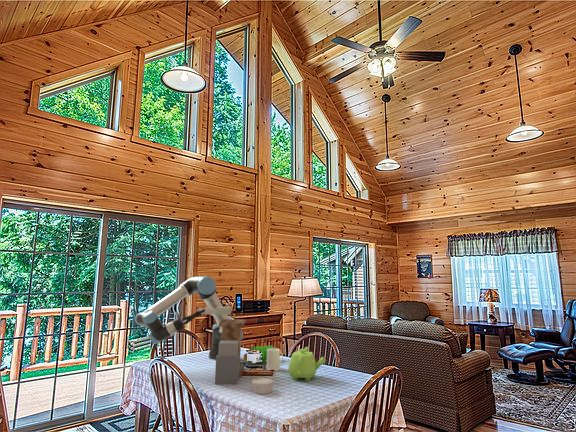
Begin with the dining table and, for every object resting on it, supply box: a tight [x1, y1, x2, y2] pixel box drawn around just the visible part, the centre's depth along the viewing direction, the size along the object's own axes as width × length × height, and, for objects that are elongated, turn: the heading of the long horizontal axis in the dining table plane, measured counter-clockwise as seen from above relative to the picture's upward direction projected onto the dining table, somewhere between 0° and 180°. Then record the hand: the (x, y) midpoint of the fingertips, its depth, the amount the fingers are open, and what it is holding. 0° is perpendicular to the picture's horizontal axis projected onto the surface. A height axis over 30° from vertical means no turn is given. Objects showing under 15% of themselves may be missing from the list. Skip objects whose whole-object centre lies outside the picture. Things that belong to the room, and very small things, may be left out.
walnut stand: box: [219, 318, 246, 378], centre depth 227 cm, size 14×20×30 cm
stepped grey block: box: [214, 340, 241, 385], centre depth 209 cm, size 12×12×21 cm
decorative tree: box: [243, 345, 278, 363], centre depth 257 cm, size 11×12×30 cm
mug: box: [266, 347, 284, 372], centre depth 237 cm, size 12×8×12 cm
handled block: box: [196, 306, 232, 316], centre depth 230 cm, size 20×8×4 cm, turn 93°
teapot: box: [288, 346, 327, 382], centre depth 219 cm, size 25×22×16 cm
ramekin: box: [251, 377, 274, 395], centre depth 191 cm, size 11×11×5 cm
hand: (210, 306), depth 230 cm, fingers closed on handled block, 3 cm apart
